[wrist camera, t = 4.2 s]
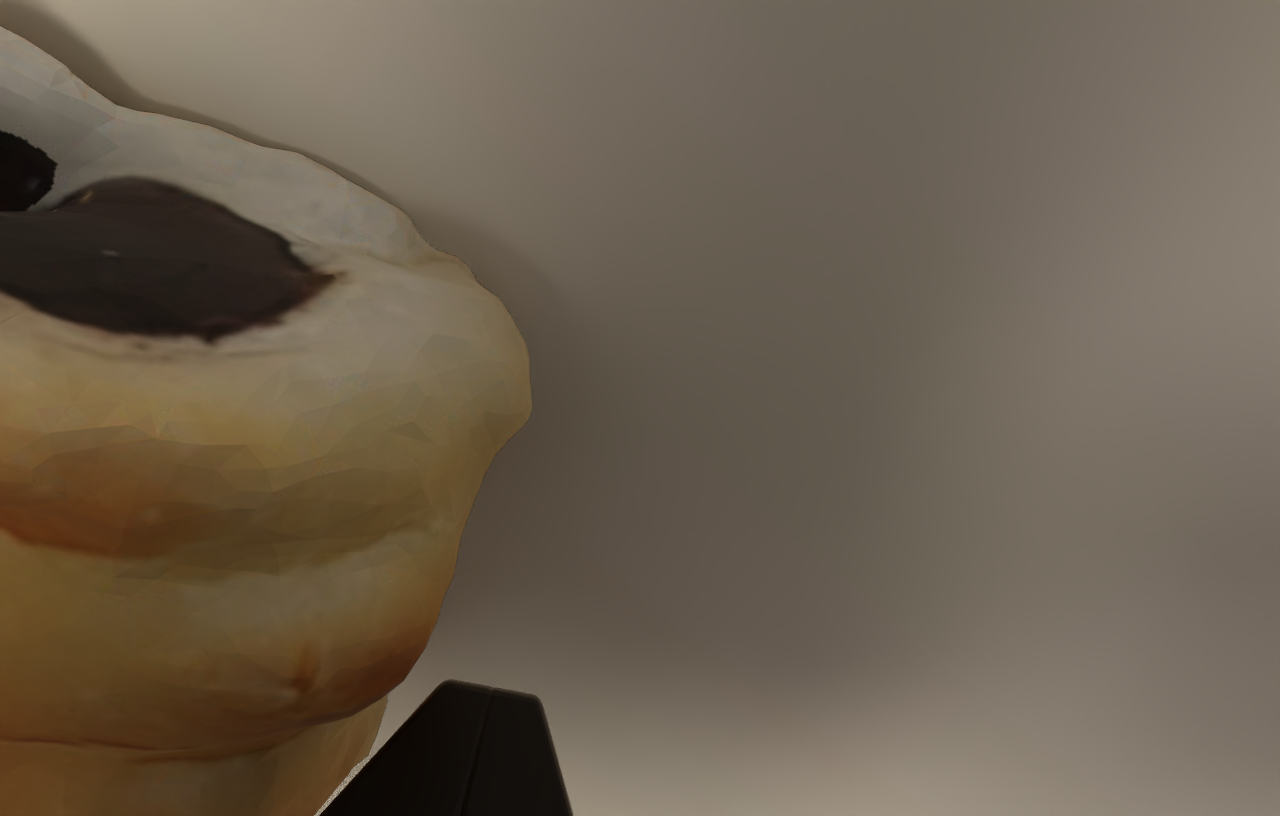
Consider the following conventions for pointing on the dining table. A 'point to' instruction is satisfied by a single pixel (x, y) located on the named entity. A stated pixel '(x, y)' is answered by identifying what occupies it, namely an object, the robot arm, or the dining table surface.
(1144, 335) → the dining table surface
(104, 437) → the pastry
